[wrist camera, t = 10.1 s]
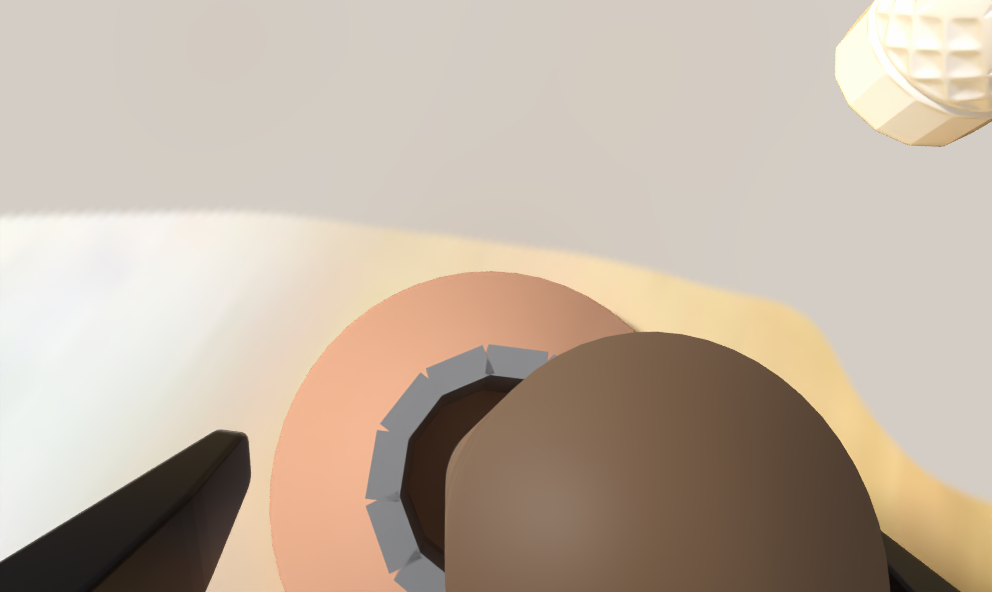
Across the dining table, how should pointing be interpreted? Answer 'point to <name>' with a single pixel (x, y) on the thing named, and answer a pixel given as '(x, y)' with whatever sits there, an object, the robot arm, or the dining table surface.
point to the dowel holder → (407, 423)
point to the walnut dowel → (657, 481)
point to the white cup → (919, 68)
